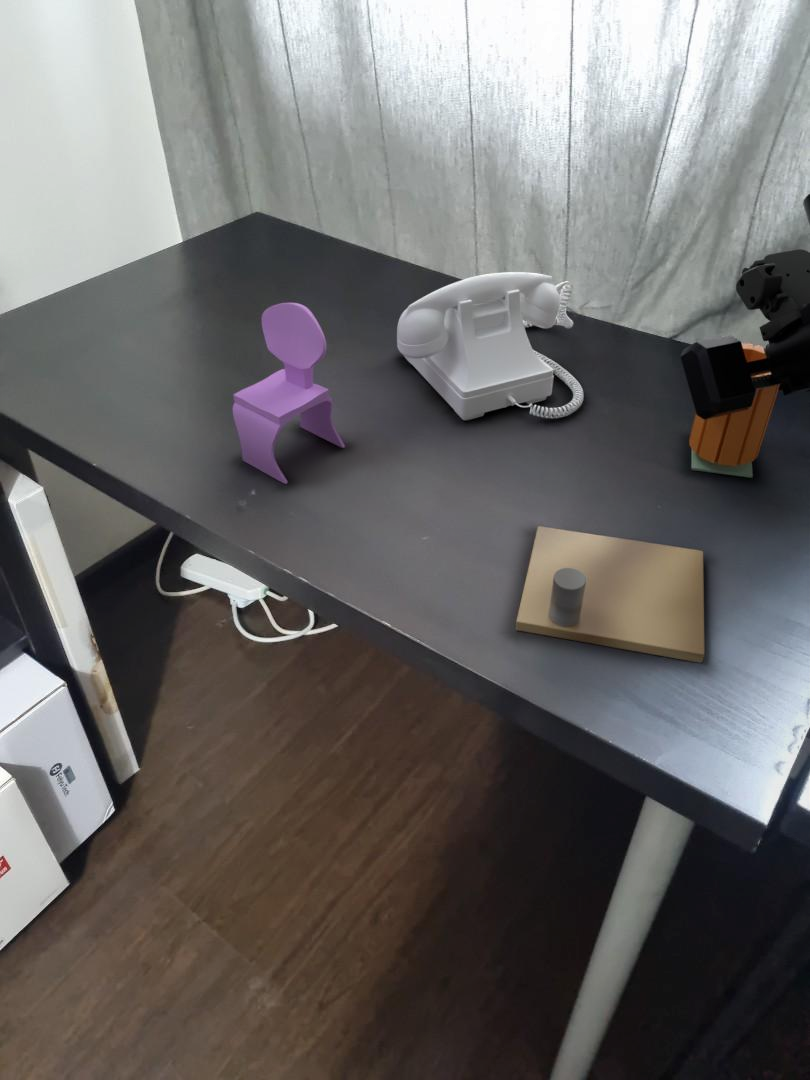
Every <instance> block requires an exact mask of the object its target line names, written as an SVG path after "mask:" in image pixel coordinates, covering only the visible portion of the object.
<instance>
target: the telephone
mask: <svg viewBox="0 0 810 1080" xmlns="http://www.w3.org/2000/svg"><path fill="white" fill-rule="evenodd" d="M569 288H571V289H569ZM572 289H574V285H572V284H571V282H570V281H568V280H566V281H562V282H560V283H558V284H556V283H555V280H554V277H553V276H552V275H548V274H542V273H536V272H526V271H508V272H507V271H506V272H505V271H503V272H492V273H486V274H480V275H475V276H471V277H467V278H464V279H460V280H458V281H455V282H453V283H449V284H447V285H445V286H443V287H440V288H438V289H436V290H434V291H432V292H430V293H428V294H426V295H425V296H422V297H420V298H419V299H417V300H416V301H414V302H412V303H411V304H409V305H408V306H407V308H406V309H404V310H403V312H402V313H401V314H400V316H399V319H398V322H397V326H396V347H397V349H398V351H399V353H400V354H401V355H402V356H403V357H404V358H405V360H406V361H407V362H408V363H409V364H410V365H411V366H413V367H414V369H416V371H417V372H418V373H419V374H420V375H421V376H422V377H423V378H424V379H425V380H426V381H427V383H428V384H430V386H431V387H432V388H433V389H434V390H435V391H436V392H437V393H438V394H439V395H440V396H441V398H442V399H443V400H444V401H445V402H446V403H447V404H448V405H449V406H450V407H451V408H452V409H453V411H454V412H455V414H456V415H457V416H459V418H460V419H461V420H463V421H470V420H473V419H477V418H481V417H483V416H485V413H488V412H492V411H496V410H500V409H503V408H507V407H510V406H511V407H513V406H515V405H516V406H517V407H520V408H522V409H525V408H530V409H529V415H532V416H535V417H538V418H543V419H560V418H564V417H568V416H570V415H572V414H573V413H574V412H576V411H577V410H578V409H579V408H580V407H581V406H582V404H583V401H584V397H585V395H584V389H583V387H582V385H581V384H580V382H579V381H578V379H576V378H575V377H574V376H573V375H572V374H571V373H570V372H569V371H568V370H567V369H565V368H564V367H562V366H561V365H560V364H559V363H557V362H555V360H552V359H551V358H549V357H547V356H546V355H544V354H542V353H540V352H538V351H536V350H535V349H533V347H532V345H531V342H530V339H529V337H528V334H527V331H526V328H529V327H534V326H535V327H538V328H541V329H551V328H552V327H553V326H560V327H564V328H565V329H569V330H570V329H572V328H573V326H574V321H573V320H572V318H570V317H569V316H568V314H567V307H568V303H569V298H570V297H571V293H572ZM559 290H560V293H559ZM555 376H556V377H558V379H560V380H561V381H562V382H563V383H564V384H565V385H567V387H568V388H569V389H570V391H571V393H572V399H571V400H570V401H568V403H566V404H565V405H562V406H558V407H547V406H545V407H544V406H540V405H537V404H536V403H539V402H542V401H546V400H547V397H550V396H552V394H553V386H554V377H555ZM524 403H525V404H526V405H521V404H524ZM533 404H534V405H533ZM539 412H540V413H539ZM543 414H544V415H543Z"/></svg>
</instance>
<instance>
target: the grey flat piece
mask: <svg viewBox="0 0 810 1080" xmlns="http://www.w3.org/2000/svg"><path fill="white" fill-rule="evenodd" d="M690 458H691V462H690V463H691V467H690V468H691V470H692V471H697V472H698V471H699V472H706V473H712V474H721V475H727V476H735V477H743V478H750V479H752V478H753V476H754V474H753V463H752V462H750V463H747V464H744V465H739V464H737V465H736V466H729V465H718V462H715V463H712V462H709V461H707V460H705V459H703V458H701V457H699V454H695V452H694V451H693V450H692V449H691V457H690Z"/></svg>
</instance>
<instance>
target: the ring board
mask: <svg viewBox="0 0 810 1080" xmlns="http://www.w3.org/2000/svg"><path fill="white" fill-rule="evenodd" d="M528 562H529V563H528V567H527V572H526V576H525V581H524V585H523V590H522V593H521V598H520V604H519V608H518V612H517V616H516V621H515V630H516V631H520V632H524V633H530V634H536V635H541V636H547V637H554V638H559V639H564V640H569V641H576V642H580V643H581V642H582V643H587V644H592V645H598V646H604V647H609V648H615V649H621V650H626V651H631V652H636V653H642V654H648V655H653V656H660V657H665V658H671V659H676V660H682V661H688V662H693V663H699V664H702V663H703V661H704V658H705V653H706V652H705V651H706V650H705V586H704V584H705V583H704V581H705V580H704V579H705V578H704V551H703V550H699V549H693V548H687V547H679V546H673V545H667V544H660V543H653V542H646V541H641V540H633V539H628V538H622V537H621V538H620V537H613V536H608V535H601V534H594V533H587V532H580V531H574V530H568V529H561V528H554V527H547V526H543V525H542V526H540V525H537V526H536V532H535V536H534V541H533V545H532V550H531V554H530V558H529V561H528Z"/></svg>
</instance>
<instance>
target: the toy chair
mask: <svg viewBox="0 0 810 1080" xmlns="http://www.w3.org/2000/svg"><path fill="white" fill-rule="evenodd" d="M261 327H262V332H263V336H264V340H265V344H266V347H267V350H268V351H269V352H270V353H271V354H272V355H273V356H275V357H276V358H277V359H278V360H280V361H281V362H282V363H283V365H284V368H281V369H280V370H278V371H275V372H274V373H272V374H270V375H268V376H267V377H266V378H263V379H262V380H260V381H258V382H256V383H254V384H252V385H250V386H248V387H245V388H243V389H241V390H239V391H237V392H235V393H233V394H232V396H233V401H234V403H233V405H232V417H233V420H234V423H235V427H236V430H237V433H238V434H237V435H238V437H239V442H240V447H241V459H242V461H243V462H245V463H247V464H248V465H250V466H251V467H254V468H255V469H257V470H259V471H261V472H263V473H264V474H265V475H268V476H269V477H272V478H274V479H275V480H277V481H279V482H281V483H282V484H285V485H286V484H288V483H289V482H288V480H287V478H286V477H285V475H284V474H283V472H282V470H281V469H280V466H279V465H278V463H277V461H276V457H275V452H274V450H275V445H276V442H277V440H278V437H279V434H280V432H281V430H282V428H283V427H284V426H285V425H286V424H287V423H289V422H290V421H291V420H293V419H295V418H296V417H297V416H299V415H300V416H299V417H300V418H299V420H300V422H299V423H300V424H299V426H300V428H302V429H303V430H306V431H307V432H309V433H312V434H313V435H315V436H317V437H319V438H321V439H323V440H326V441H327V442H329V443H331V444H333V445H336V446H337V447H339V448H342V449H344V448H345V447H346V445H345V443H344V441H343V440H342V439H341V436H340V435H339V433H338V431H337V429H336V426H335V424H334V421H333V416H332V415H333V413H332V412H333V403H334V401H333V399H332V398H331V397H330V390H329V389H328V388H326V387H325V386H321V385H320V384H317V383H314V366H315V365H317V364H318V363H320V362H321V361H322V360H323V359H324V357H325V356H326V354H327V341H326V337H325V334H324V332H323V330H322V327H321V325H320V324H319V322H318V320H317V318H316V317H315V315H314V314H313V312H312V311H311V310H310V309H309V308H308V307H307V306H305V305H303V304H301V303H298V302H282V303H277V304H274V305H271V306H269V307H267V308H266V309H265V310H264V311H263V313H262V314H261Z"/></svg>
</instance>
